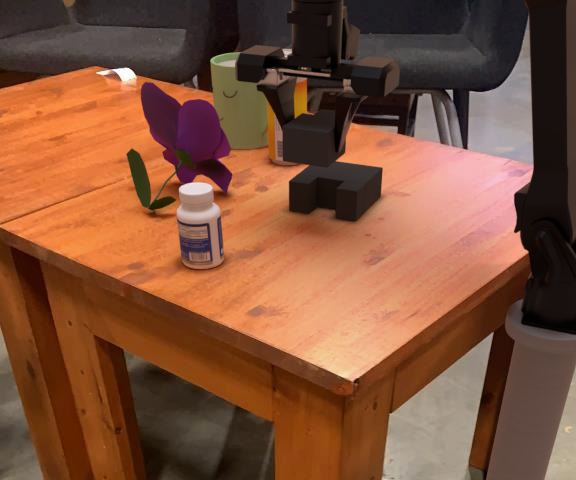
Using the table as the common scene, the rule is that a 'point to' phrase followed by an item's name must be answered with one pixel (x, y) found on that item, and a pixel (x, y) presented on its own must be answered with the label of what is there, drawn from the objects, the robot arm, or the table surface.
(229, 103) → the mug
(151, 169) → the table surface
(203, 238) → the pill bottle
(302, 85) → the beer can
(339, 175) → the black notched block
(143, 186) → the flower
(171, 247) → the table surface
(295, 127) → the black block
